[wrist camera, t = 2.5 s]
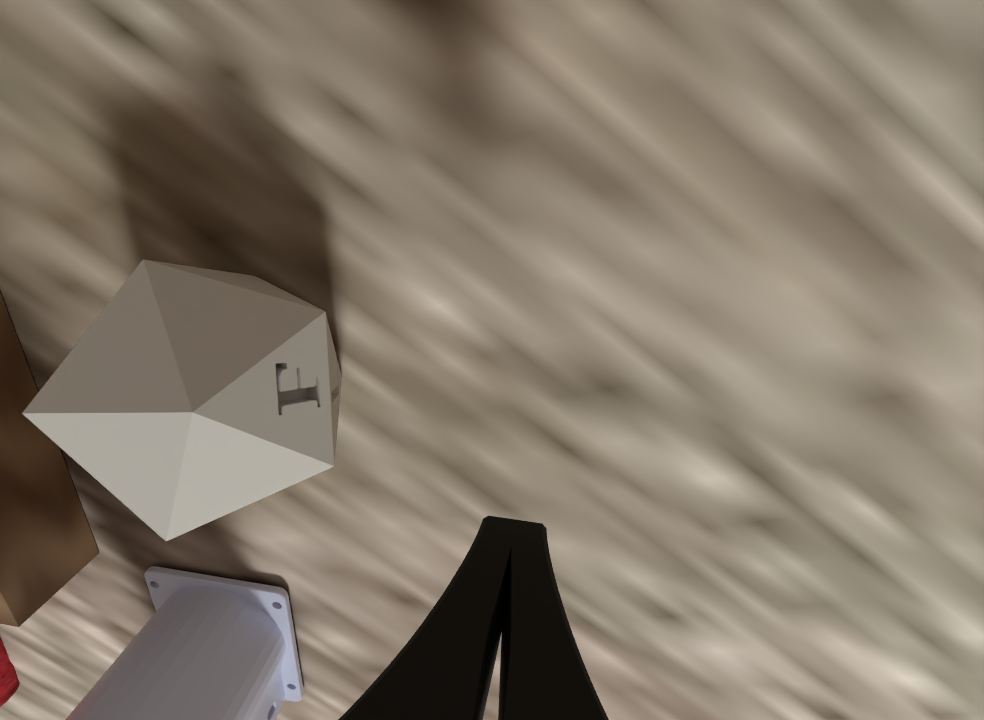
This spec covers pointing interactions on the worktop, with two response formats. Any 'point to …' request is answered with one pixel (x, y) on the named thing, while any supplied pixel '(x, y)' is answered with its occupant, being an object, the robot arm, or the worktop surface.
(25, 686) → the worktop surface
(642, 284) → the worktop surface
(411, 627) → the worktop surface
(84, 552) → the brown wooden bar
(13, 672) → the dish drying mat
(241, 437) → the die
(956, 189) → the worktop surface
